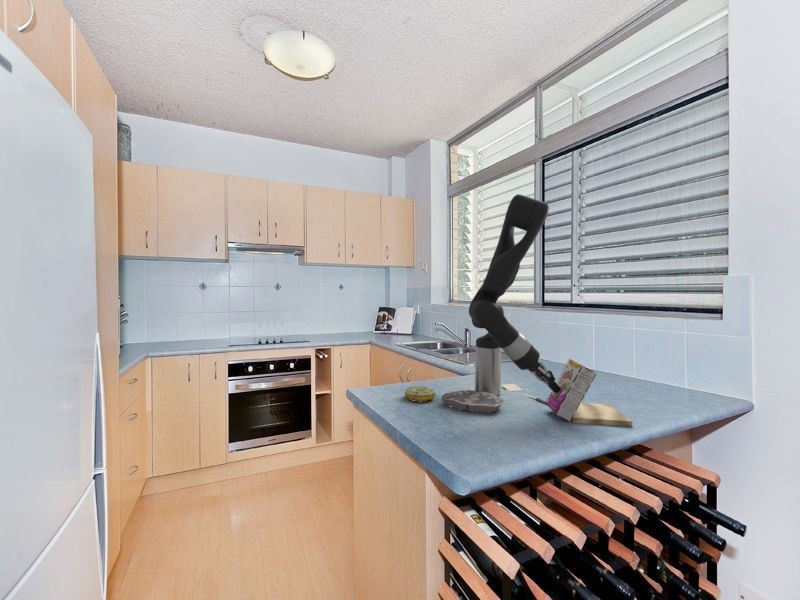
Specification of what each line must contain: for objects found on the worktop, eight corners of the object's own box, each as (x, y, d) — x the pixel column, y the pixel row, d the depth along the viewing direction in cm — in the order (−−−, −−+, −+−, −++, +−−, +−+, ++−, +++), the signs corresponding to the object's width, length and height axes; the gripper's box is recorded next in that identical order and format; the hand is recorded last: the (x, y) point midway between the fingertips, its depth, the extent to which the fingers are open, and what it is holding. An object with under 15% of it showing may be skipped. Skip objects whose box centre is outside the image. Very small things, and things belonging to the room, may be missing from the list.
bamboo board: (572, 422, 107) (572, 417, 107) (557, 405, 123) (557, 401, 123) (632, 426, 105) (632, 421, 105) (609, 408, 120) (609, 404, 120)
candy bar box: (543, 402, 118) (568, 358, 117) (558, 410, 118) (583, 365, 117) (554, 414, 107) (582, 365, 106) (570, 422, 107) (598, 373, 106)
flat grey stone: (507, 403, 126) (507, 394, 126) (498, 418, 111) (498, 408, 110) (451, 395, 134) (451, 387, 134) (436, 409, 119) (436, 399, 119)
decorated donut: (424, 393, 136) (425, 383, 136) (440, 401, 127) (441, 390, 127) (399, 396, 132) (399, 386, 131) (414, 405, 122) (414, 393, 122)
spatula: (514, 387, 148) (514, 383, 148) (567, 410, 120) (567, 406, 120) (500, 388, 146) (500, 384, 146) (551, 412, 118) (551, 407, 118)
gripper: (538, 345, 104) (578, 387, 106) (519, 338, 118) (555, 376, 119) (520, 363, 104) (560, 406, 105) (502, 355, 117) (538, 393, 119)
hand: (557, 390), depth 112 cm, fingers closed
